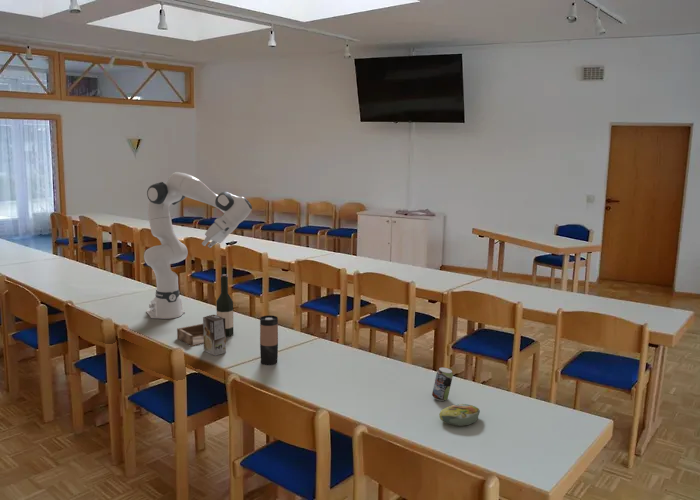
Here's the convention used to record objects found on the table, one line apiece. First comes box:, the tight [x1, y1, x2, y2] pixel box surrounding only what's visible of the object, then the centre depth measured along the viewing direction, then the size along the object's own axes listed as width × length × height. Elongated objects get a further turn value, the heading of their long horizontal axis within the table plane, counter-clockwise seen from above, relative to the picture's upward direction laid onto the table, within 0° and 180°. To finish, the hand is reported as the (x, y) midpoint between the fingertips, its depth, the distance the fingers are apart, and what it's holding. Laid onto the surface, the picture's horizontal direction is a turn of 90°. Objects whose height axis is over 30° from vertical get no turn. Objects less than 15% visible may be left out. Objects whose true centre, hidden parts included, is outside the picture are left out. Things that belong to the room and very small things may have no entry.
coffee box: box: [202, 314, 227, 356], centre depth 277 cm, size 9×6×16 cm
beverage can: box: [431, 366, 454, 402], centre depth 231 cm, size 6×7×12 cm
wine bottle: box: [215, 273, 235, 338], centre depth 300 cm, size 8×8×30 cm
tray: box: [176, 323, 204, 347], centre depth 294 cm, size 14×14×5 cm
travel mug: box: [259, 315, 279, 366], centre depth 265 cm, size 8×8×20 cm
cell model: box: [439, 403, 481, 426], centre depth 214 cm, size 11×8×15 cm
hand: (205, 246), depth 298 cm, fingers open, 8 cm apart
